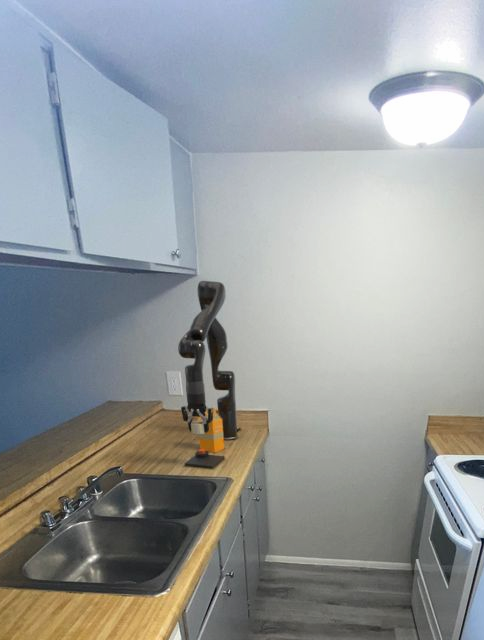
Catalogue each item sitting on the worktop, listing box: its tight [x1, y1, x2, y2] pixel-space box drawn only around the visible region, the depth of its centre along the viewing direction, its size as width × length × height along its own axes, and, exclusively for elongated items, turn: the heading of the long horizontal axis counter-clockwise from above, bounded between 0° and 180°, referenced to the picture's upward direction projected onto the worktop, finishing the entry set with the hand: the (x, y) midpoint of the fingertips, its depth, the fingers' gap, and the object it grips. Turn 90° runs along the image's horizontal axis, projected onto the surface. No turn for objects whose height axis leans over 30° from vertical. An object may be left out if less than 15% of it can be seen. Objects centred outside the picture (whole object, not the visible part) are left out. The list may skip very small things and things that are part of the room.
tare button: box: [197, 448, 205, 454], centre depth 214 cm, size 3×3×2 cm
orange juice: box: [197, 406, 225, 453], centre depth 224 cm, size 8×9×20 cm
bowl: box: [191, 420, 205, 436], centre depth 202 cm, size 6×6×4 cm
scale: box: [184, 450, 226, 470], centre depth 211 cm, size 14×13×3 cm
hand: (199, 431), depth 203 cm, fingers closed on bowl, 6 cm apart
